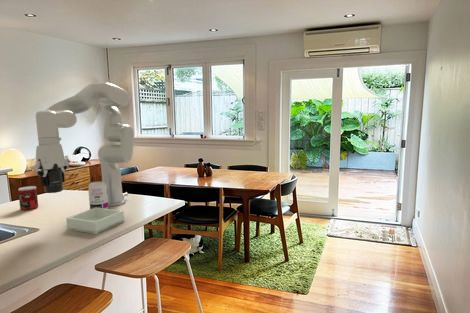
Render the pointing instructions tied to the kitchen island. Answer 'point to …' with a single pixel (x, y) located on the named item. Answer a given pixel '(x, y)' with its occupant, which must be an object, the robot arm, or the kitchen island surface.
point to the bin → (95, 220)
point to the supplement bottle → (54, 180)
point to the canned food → (28, 198)
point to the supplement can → (98, 195)
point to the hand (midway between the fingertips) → (53, 183)
